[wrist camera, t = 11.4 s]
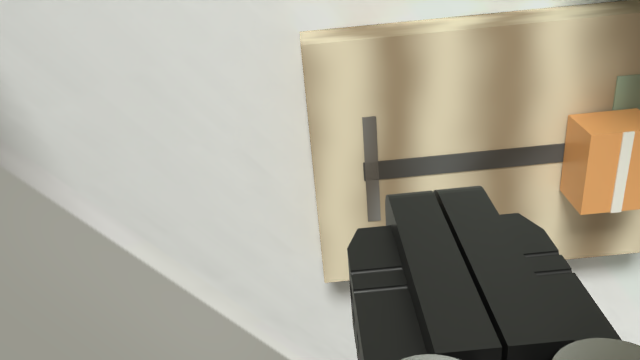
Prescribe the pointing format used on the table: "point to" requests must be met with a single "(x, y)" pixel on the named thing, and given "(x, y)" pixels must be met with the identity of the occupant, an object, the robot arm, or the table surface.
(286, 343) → the table surface
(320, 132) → the fader console
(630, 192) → the fader knob
